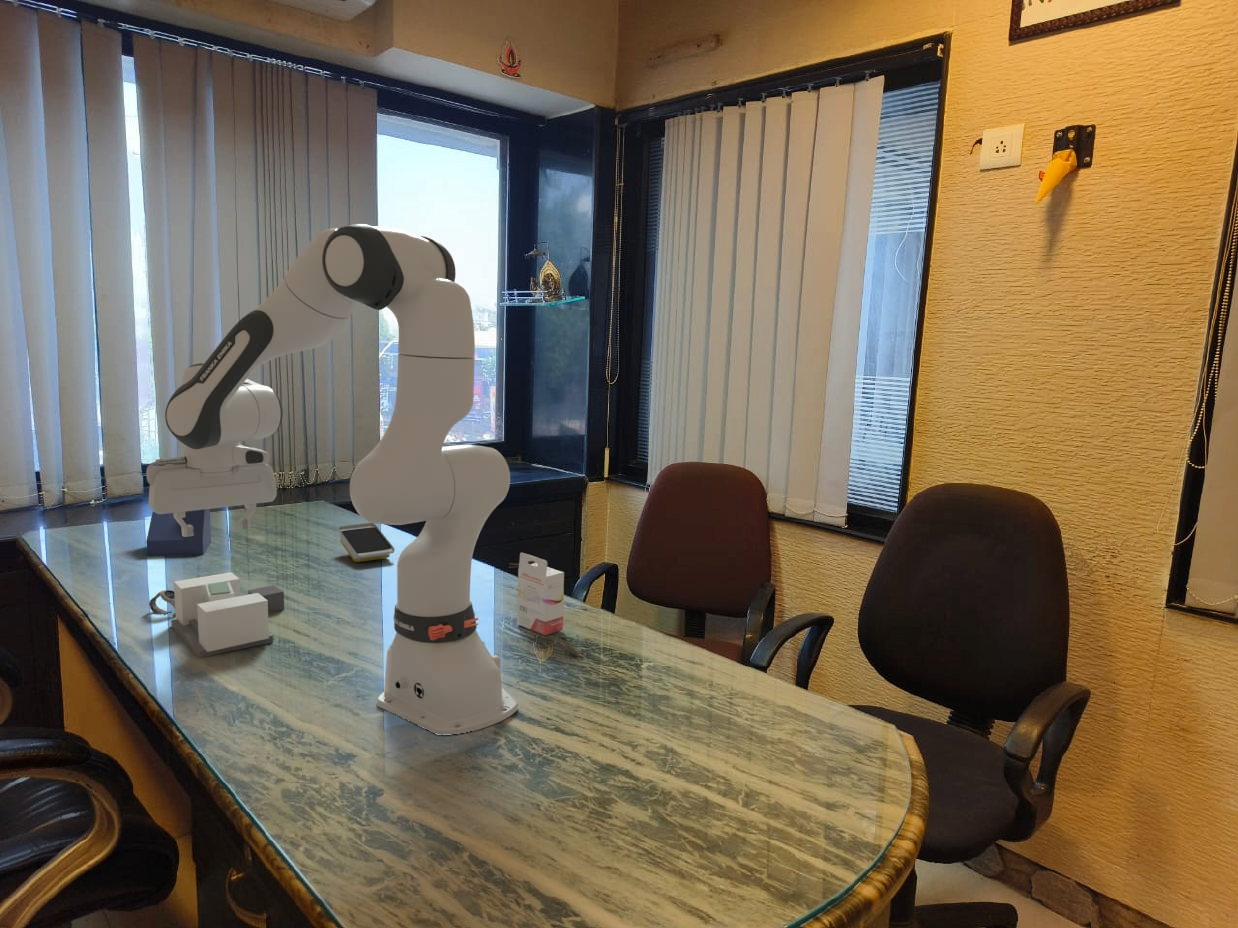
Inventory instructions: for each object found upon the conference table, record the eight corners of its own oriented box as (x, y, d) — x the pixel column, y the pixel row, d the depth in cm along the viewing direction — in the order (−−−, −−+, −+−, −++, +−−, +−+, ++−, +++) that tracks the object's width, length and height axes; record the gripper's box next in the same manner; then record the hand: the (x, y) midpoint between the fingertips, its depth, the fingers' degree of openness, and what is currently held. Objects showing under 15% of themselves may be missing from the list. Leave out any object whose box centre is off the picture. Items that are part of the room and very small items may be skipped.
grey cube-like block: (284, 610, 158) (283, 591, 157) (258, 616, 154) (258, 596, 154) (274, 604, 161) (273, 585, 160) (248, 609, 158) (248, 590, 157)
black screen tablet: (336, 541, 199) (357, 571, 189) (337, 526, 198) (358, 555, 187) (372, 537, 205) (394, 565, 195) (373, 522, 204) (396, 550, 193)
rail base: (275, 644, 141) (273, 599, 139) (201, 661, 132) (199, 613, 131) (238, 612, 155) (236, 571, 154) (170, 626, 147) (167, 582, 146)
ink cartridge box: (564, 630, 153) (566, 556, 151) (545, 636, 150) (547, 561, 147) (535, 618, 159) (536, 547, 156) (515, 624, 155) (517, 551, 153)
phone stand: (147, 557, 188) (144, 508, 186) (158, 544, 199) (155, 497, 197) (203, 554, 192) (201, 506, 190) (211, 541, 203) (209, 496, 201)
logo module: (235, 630, 142) (233, 591, 140) (210, 634, 140) (208, 594, 138) (231, 617, 148) (229, 580, 146) (207, 621, 145) (205, 583, 144)
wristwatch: (173, 619, 150) (172, 594, 150) (145, 616, 152) (144, 591, 151) (187, 613, 154) (185, 588, 153) (159, 610, 155) (158, 585, 154)
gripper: (150, 462, 129) (155, 544, 131) (278, 453, 143) (281, 527, 145) (141, 457, 134) (146, 537, 136) (266, 449, 147) (269, 521, 149)
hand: (217, 532), depth 140 cm, fingers open, 8 cm apart
